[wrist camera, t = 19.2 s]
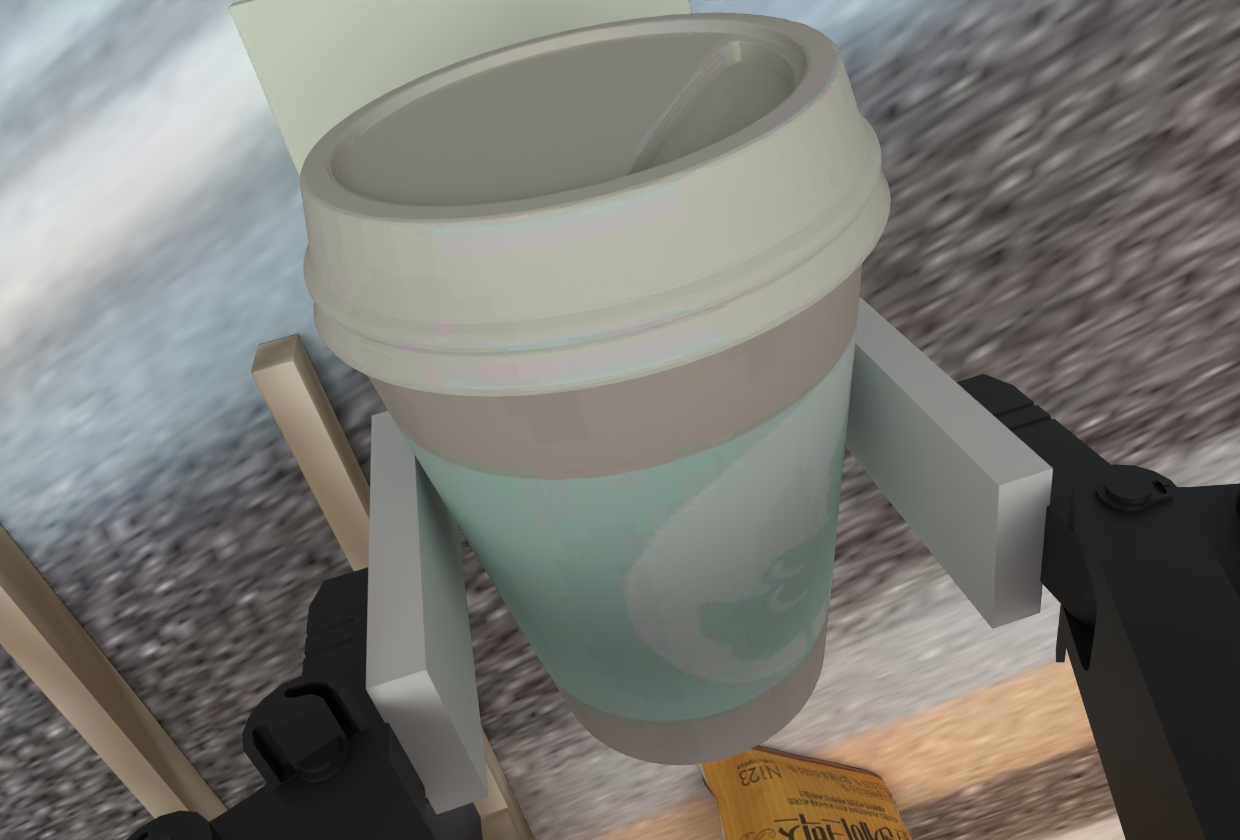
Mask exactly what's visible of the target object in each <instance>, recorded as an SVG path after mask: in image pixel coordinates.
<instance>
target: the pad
mask: <svg viewBox="0 0 1240 840" xmlns="http://www.w3.org/2000/svg"><path fill="white" fill-rule="evenodd" d="M229 10H230V12H231V15H232V17H233V19H234V22H235V24H236V27H237V29H238V31H239V34H240V36H241V38H242V41H243V43H244V46H245V48H246V50H247V53H248V55H249V58H250V60H251V62H252V65H253V67H254V69H255V72H256V74H257V77H258V79H259V81H260V84H261V86H262V89H263V91H264V93H265V96H266V98H267V100H268V103H269V105H270V108H271V110H272V112H273V115H274V117H275V120H276V122H277V124H278V127H279V129H280V131H281V134H282V136H283V139H284V141H285V143H286V146H287V148H288V151H289V153H290V155H291V158H292V160H293V162H294V165H295V167H296V170H297V172H298V174H299V177H300V173H301V169H302V167H303V164H304V161H305V159H306V157H307V155H308V154H309V152H310V151H311V149H312V148H313V147H314V146H315V144H316V143H317V142H318V141H319V140H320V139H321V138H322V137H323V136H324V135H325V134H326V133H327V132H328V131H329V130H330V129H332V128H333V127H334V126H335V125H337V124H338V123H339V122H341V121H342V120H343V119H345V118H346V117H348V116H349V115H350V114H352V113H353V112H355V111H356V110H358V109H359V108H361V107H363V106H364V105H366V104H368V103H370V102H371V101H373V100H375V99H377V98H379V97H380V96H382V95H384V94H386V93H388V92H389V91H391V90H393V89H396V88H398V87H400V86H402V85H404V84H406V83H408V82H411V81H413V80H415V79H417V78H419V77H421V76H423V75H426V74H428V73H431V72H434V71H436V70H439V69H441V68H444V67H446V66H449V65H451V64H454V63H456V62H459V61H462V60H465V59H468V58H471V57H474V56H477V55H480V54H482V53H485V52H489V51H492V50H495V49H499V48H502V47H505V46H509V45H512V44H515V43H519V42H522V41H526V40H530V39H534V38H538V37H542V36H547V35H551V34H555V33H559V32H563V31H567V30H572V29H577V28H582V27H588V26H593V25H598V24H603V23H610V22H616V21H623V20H629V19H637V18H646V17H655V16H664V15H675V14H691V10H690V4H689V0H244V1H240V2H236V3H233V4H232V5H231V6H229Z"/></svg>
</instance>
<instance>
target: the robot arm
mask: <svg viewBox="0 0 1240 840" xmlns="http://www.w3.org/2000/svg"><path fill="white" fill-rule="evenodd" d="M845 446H846V448H847V449H848V450H849V451H850V453H851V454H852V455H853V456H854V457H855V459H856V460H857V461H858V462H859V464H860V465H861V466H862V467H863V469H864V470H865V471H866V472H867V474H868V475H869V476H870V477H871V479H872V480H873V481H874V482H875V484H876V485H877V486H878V487H879V488H880V490H881V491H882V492H883V493H884V495H885V496H886V497H887V498H888V500H889V501H890V502H891V503H892V505H893V506H894V507H895V508H896V510H897V511H898V512H899V513H900V515H901V516H902V517H903V518H904V519H905V521H906V522H907V523H908V524H909V526H910V527H911V528H912V529H913V531H914V532H915V533H916V534H917V536H918V537H919V538H920V539H921V541H922V542H923V543H924V544H925V546H926V547H927V548H928V549H929V551H930V552H931V553H932V554H933V555H934V557H935V558H936V559H937V560H938V562H939V563H940V564H941V565H942V567H943V568H944V569H945V570H946V572H947V573H948V574H949V575H950V577H951V578H952V579H953V580H954V582H955V583H956V584H957V585H958V586H959V588H960V589H961V590H962V591H963V593H964V594H965V595H966V596H967V598H968V599H969V600H970V601H971V603H972V604H973V605H974V606H975V608H976V609H977V610H978V611H979V613H980V614H981V615H982V616H983V618H984V619H985V620H986V621H987V622H988V624H989V625H990V626H991V627H992V629H993V628H996V627H999V626H1002V625H1005V624H1008V623H1011V622H1014V621H1017V620H1020V619H1023V618H1026V617H1029V616H1032V615H1035V614H1038V613H1040V607H1041V596H1042V585H1044V586H1045V587H1046V588H1047V589H1048V590H1049V591H1050V592H1051V593H1052V594H1053V596H1054V597H1055V598H1056V599H1057V600H1058V601H1059V602H1060V603H1061V606H1060V615H1059V625H1058V634H1057V643H1056V662H1064V661H1065V653H1066V648H1067V652H1068V655H1069V658H1070V661H1071V665H1072V668H1073V671H1074V674H1075V678H1076V681H1077V684H1078V687H1079V690H1080V694H1081V697H1082V700H1083V703H1084V707H1085V710H1086V713H1087V716H1088V719H1089V723H1090V726H1091V729H1092V732H1093V736H1094V739H1095V742H1096V745H1097V749H1098V752H1099V755H1100V758H1101V761H1102V765H1103V768H1104V771H1105V774H1106V778H1107V781H1108V784H1109V787H1110V791H1111V794H1112V797H1113V800H1114V803H1115V807H1116V810H1117V813H1118V816H1119V820H1120V823H1121V826H1122V829H1123V833H1124V836H1125V839H1126V840H1240V484H1227V485H1213V486H1200V487H1177V486H1176V485H1175V484H1174V483H1173V482H1172V481H1171V480H1169V479H1168V478H1166V477H1164V476H1162V475H1160V474H1159V473H1157V472H1155V471H1152V470H1148V469H1145V468H1141V467H1137V466H1131V465H1110V464H1109V463H1108V462H1107V461H1106V460H1104V459H1103V458H1102V457H1101V456H1099V455H1098V454H1097V453H1096V452H1094V451H1093V450H1092V449H1091V448H1090V447H1088V446H1087V445H1086V444H1085V443H1083V442H1082V441H1081V440H1080V439H1078V438H1077V437H1076V436H1075V435H1074V434H1072V433H1071V432H1070V431H1069V430H1067V429H1066V428H1065V427H1064V426H1062V425H1061V424H1060V423H1059V422H1058V421H1056V420H1055V419H1051V418H1050V415H1049V414H1048V413H1046V412H1045V411H1044V410H1043V409H1042V408H1040V407H1039V406H1038V405H1036V406H1035V405H1034V402H1033V401H1032V400H1030V399H1029V398H1028V397H1027V396H1026V395H1024V394H1023V393H1022V392H1021V391H1019V390H1018V389H1017V388H1016V387H1015V386H1013V385H1011V384H1008V383H1006V382H1003V381H1001V380H998V379H995V378H993V377H990V376H987V375H985V374H982V375H979V376H975V377H972V378H969V379H966V380H962V381H959V382H955V381H954V380H953V379H952V378H951V377H949V376H948V375H947V374H946V373H945V372H944V371H943V370H942V369H940V368H939V367H938V366H937V365H936V364H935V363H934V362H933V361H931V360H930V359H929V358H928V357H927V356H926V355H925V354H924V353H922V352H921V351H920V350H919V349H918V348H917V347H916V346H915V345H913V344H912V343H911V342H910V341H909V340H908V339H907V338H906V337H904V336H903V335H902V334H901V333H900V332H899V331H898V330H897V329H895V328H894V327H893V326H892V325H891V324H890V323H889V322H888V321H886V320H885V319H884V318H883V317H882V316H881V315H880V314H879V313H877V312H876V311H875V310H874V309H873V308H872V307H871V306H870V305H868V304H867V303H866V302H865V301H864V300H863V299H862V298H861V297H859V306H858V319H857V329H856V339H855V349H854V360H853V370H852V380H851V390H850V401H849V411H848V421H847V431H846V441H845ZM307 636H308V637H306V643H305V652H304V654H305V657H306V658H304V662H303V672H302V676H300V677H298V678H296V679H293V680H291V681H289V682H287V683H285V684H283V685H280V686H279V687H278V688H277V689H275V690H274V691H273V692H271V693H270V694H269V695H268V696H266V697H265V698H264V699H263V700H262V701H261V702H260V703H259V705H258V706H257V707H256V708H255V710H254V711H253V712H252V714H251V715H250V716H249V718H248V721H247V723H246V726H245V729H244V731H243V734H242V737H243V749H244V752H245V753H246V754H247V756H248V757H249V758H250V760H251V761H252V763H253V764H254V765H255V767H256V768H257V769H258V771H259V772H260V774H261V775H262V776H263V778H264V779H265V780H266V782H267V783H266V784H265V785H264V786H263V787H262V788H261V789H259V790H258V791H257V792H255V793H254V794H252V795H251V796H250V797H248V798H247V799H245V800H244V801H242V802H240V803H239V804H237V805H235V806H234V807H232V808H231V809H229V810H227V811H226V812H224V813H223V814H221V815H219V816H218V817H216V818H214V819H213V820H211V821H210V822H209V821H207V820H206V819H205V818H204V817H202V816H201V815H200V814H199V813H198V812H192V811H182V810H179V811H176V812H172V813H169V814H165V815H162V816H159V817H157V818H156V819H154V820H152V821H151V822H149V823H147V824H146V825H144V826H142V827H141V828H139V829H138V830H137V831H136V832H135V833H134V834H132V835H131V836H130V837H129V838H128V839H127V840H436V839H435V838H434V836H433V834H432V833H431V831H430V829H429V827H428V826H427V823H426V801H425V795H426V796H427V798H428V800H429V802H430V804H431V805H432V807H433V809H434V811H435V812H436V814H440V813H443V812H446V811H449V810H452V809H455V808H457V807H460V806H463V805H466V804H469V803H472V802H475V801H478V800H481V799H484V798H487V797H489V791H488V782H487V773H486V764H485V756H484V747H483V738H482V729H481V721H480V712H479V703H478V695H477V686H476V677H475V668H474V660H473V651H472V642H471V634H470V625H469V616H468V607H467V599H466V590H465V581H464V573H463V564H462V555H461V546H460V538H459V529H458V525H457V523H456V522H455V520H454V518H453V517H452V515H451V513H450V512H449V510H448V508H447V507H446V505H445V503H444V502H443V500H442V499H441V497H440V495H439V494H438V492H437V490H436V489H435V487H434V485H433V484H432V482H431V481H430V479H429V477H428V476H427V474H426V472H425V471H424V469H423V467H422V466H421V464H420V462H419V461H418V459H417V458H416V456H415V454H414V453H413V451H412V449H411V448H410V446H409V444H408V443H407V441H406V439H405V438H404V436H403V435H402V433H401V431H400V430H399V428H398V426H397V425H396V423H395V421H394V420H393V418H392V416H391V414H390V413H389V411H386V412H382V413H379V414H376V415H372V428H371V474H370V520H369V566H368V567H367V568H364V569H360V570H357V571H354V572H351V573H347V574H344V575H341V576H338V577H335V578H331V579H328V580H325V581H324V582H323V584H322V585H321V587H320V589H319V591H318V592H317V594H316V596H315V598H314V599H313V601H312V603H311V605H310V606H309V613H308V623H307Z"/></svg>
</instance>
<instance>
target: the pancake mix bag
mask: <svg viewBox="0 0 1240 840" xmlns="http://www.w3.org/2000/svg"><path fill="white" fill-rule="evenodd" d="M697 765H698V767H699V769H700V771H701V774H702V777H703V781H704V784H705V785H706V787H707V788H708V789H709V790H710V792H711V793H712V794H713V795H714V797H715V798H716V799H717V803H718V809H719V816H720V822H721V829H722V836H723V840H912V838H911V836H910V834H909V832H908V830H907V828H906V826H905V825H904V823H903V821H902V819H901V817H900V814H899V811H898V808H897V805H896V803H895V800H893V798H892V795H891V794H890V792H889V790H888V789H887V787H886V785H885V784H884V782H883V780H882V779H881V778H880V777H878V776H876V775H874V774H872V773H870V772H868V771H865V770H860V769H856V768H851V767H847V766H843V765H839V764H835V763H831V762H826V761H821V760H817V759H811V758H806V757H800V756H796V755H792V754H789V753H785V752H781V751H778V750H773V749H768V748H764V747H758V746H756V747H754V748H752V749H750V750H748V751H745V752H743V753H741V754H738V755H735V756H732V757H729V758H726V759H722V760H718V761H714V762H709V763H703V764H697Z"/></svg>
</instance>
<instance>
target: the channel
mask: <svg viewBox="0 0 1240 840" xmlns="http://www.w3.org/2000/svg"><path fill="white" fill-rule="evenodd" d="M251 374H252V376H253V378H254V380H255V381H256V383H257V385H258V387H259V389H260V391H261V393H262V395H263V397H264V399H265V401H266V403H267V405H268V407H269V409H270V410H271V412H272V414H273V416H274V418H275V420H276V422H277V424H278V426H279V428H280V430H281V432H282V434H283V436H284V438H285V439H286V441H287V443H288V445H289V447H290V449H291V451H292V453H293V455H294V457H295V459H296V461H297V463H298V465H299V467H300V468H301V470H302V472H303V474H304V476H305V478H306V480H307V482H308V484H309V486H310V488H311V490H312V492H313V494H314V496H315V497H316V499H317V501H318V503H319V505H320V507H321V509H322V511H323V513H324V515H325V517H326V519H327V521H328V523H329V525H330V526H331V528H332V530H333V532H334V534H335V536H336V538H337V540H338V542H339V544H340V546H341V548H342V550H343V552H344V554H345V555H346V557H347V559H348V561H349V563H350V565H351V567H352V569H353V571H357V570H360V569H364V568H367V567H368V566H369V520H370V487H369V485H368V483H367V481H366V479H365V476H364V474H363V472H362V470H361V468H360V466H359V464H358V461H357V459H356V457H355V455H354V453H353V451H352V449H351V447H350V444H349V442H348V440H347V438H346V436H345V434H344V432H343V429H342V427H341V425H340V423H339V421H338V419H337V417H336V415H335V412H334V410H333V408H332V406H331V404H330V402H329V400H328V397H327V395H326V393H325V391H324V389H323V387H322V385H321V383H320V380H319V378H318V376H317V374H316V372H315V370H314V368H313V365H312V363H311V361H310V359H309V357H308V355H307V353H306V351H305V348H304V346H303V344H302V342H301V340H300V338H299V336H298V334H296V335H292V336H289V337H285V338H282V339H279V340H275V341H272V342H268V343H265V344H261V345H258V349H257V352H256V356H255V360H254V364H253V367H252V371H251ZM0 644H1V645H2V646H3V647H4V648H5V649H6V651H7V652H8V653H9V654H10V655H11V656H12V657H13V659H14V660H15V661H16V662H17V663H18V664H19V665H20V666H21V668H22V669H23V670H24V671H25V672H26V673H27V674H28V675H29V677H30V678H31V679H32V680H33V681H34V682H35V683H36V685H37V686H38V687H39V688H40V689H41V690H42V691H43V692H44V694H45V695H46V696H47V697H48V698H49V699H50V700H51V702H52V703H53V704H54V705H55V706H56V707H57V708H58V709H59V711H60V712H61V713H62V714H63V715H64V716H65V717H66V718H67V720H68V721H69V722H70V723H71V724H72V725H73V726H74V728H75V729H76V730H77V731H78V732H79V733H80V734H81V735H82V737H83V738H84V739H85V740H86V741H87V742H88V743H89V744H90V746H91V747H92V748H93V749H94V750H95V751H96V752H97V754H98V755H99V756H100V757H101V758H102V759H103V760H104V761H105V763H106V764H107V765H108V766H109V767H110V768H111V769H112V770H113V772H114V773H115V774H116V775H117V776H118V777H119V778H120V780H121V781H122V782H123V783H124V784H125V785H126V786H127V787H128V789H129V790H130V791H131V792H132V793H133V794H134V795H135V797H136V798H137V799H138V800H139V801H140V802H141V803H142V804H143V806H144V807H145V808H146V809H147V810H148V811H149V812H150V813H151V815H152V816H153V817H154V818H155V819H156V818H157V817H159V816H162V815H165V814H169V813H172V812H176V811H179V810H182V811H192V812H198V813H199V814H200V815H201V816H202V817H204V818H205V819H206V820H207V821H209V822H210V821H211V820H213V819H214V818H216V817H218V816H219V815H221V814H223V813H224V812H226V811H227V808H226V807H225V806H224V805H223V803H222V802H221V801H220V800H219V798H218V797H217V796H216V795H215V793H214V792H213V791H212V790H211V788H210V787H209V786H208V785H207V783H206V782H205V781H204V780H203V778H202V777H201V776H200V775H199V773H198V772H197V771H196V769H195V768H194V767H193V766H192V764H191V763H190V762H189V761H188V759H187V758H186V757H185V756H184V754H183V753H182V752H181V751H180V749H179V748H178V747H177V746H176V744H175V743H174V742H173V741H172V739H171V738H170V737H169V736H168V734H167V733H166V732H165V730H164V729H163V728H162V727H161V725H160V724H159V723H158V722H157V720H156V719H155V718H154V717H153V715H152V714H151V713H150V712H149V710H148V709H147V708H146V707H145V705H144V704H143V703H142V702H141V700H140V699H139V698H138V697H137V695H136V694H135V693H134V691H133V690H132V689H131V688H130V686H129V685H128V684H127V683H126V681H125V680H124V679H123V678H122V676H121V675H120V674H119V673H118V671H117V670H116V669H115V668H114V666H113V665H112V664H111V663H110V661H109V660H108V659H107V658H106V656H105V655H104V654H103V652H102V651H101V650H100V649H99V647H98V646H97V645H96V644H95V642H94V641H93V640H92V639H91V637H90V636H89V635H88V634H87V632H86V631H85V630H84V629H83V627H82V626H81V625H80V624H79V622H78V621H77V620H76V619H75V617H74V616H73V615H72V613H71V612H70V611H69V610H68V608H67V607H66V606H65V605H64V603H63V602H62V601H61V600H60V598H59V597H58V596H57V595H56V593H55V592H54V591H53V590H52V588H51V587H50V586H49V585H48V583H47V582H46V581H45V580H44V578H43V577H42V576H41V574H40V573H39V572H38V571H37V569H36V568H35V567H34V566H33V564H32V563H31V562H30V561H29V559H28V558H27V557H26V556H25V554H24V553H23V552H22V551H21V549H20V548H19V547H18V546H17V544H16V543H15V542H14V541H13V539H12V538H11V537H10V535H9V534H8V533H7V532H6V530H5V529H4V528H3V527H2V525H1V524H0ZM481 729H482V738H483V747H484V756H485V764H486V773H487V782H488V791H489V797H487V798H484V799H481V800H478V801H475V802H472V803H469V804H466V805H463V806H460V807H457V808H455V809H452V810H449V811H446V812H443V813H440V814H436V812H435V811H434V809H433V807H432V805H431V804H430V802H429V800H428V799H425V801H426V823H427V826H428V827H429V829H430V831H431V833H432V834H433V836H434V838H435V839H436V840H535V839H534V837H533V835H532V833H531V831H530V828H529V826H528V824H527V822H526V820H525V818H524V816H523V814H522V811H521V809H520V807H519V805H518V803H517V801H516V799H515V796H514V794H513V792H512V790H511V788H510V786H509V784H508V782H507V779H506V777H505V775H504V773H503V771H502V769H501V767H500V764H499V762H498V760H497V758H496V756H495V754H494V752H493V750H492V747H491V745H490V743H489V741H488V739H487V737H486V735H485V732H484V730H483V728H482V726H481Z"/></svg>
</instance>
